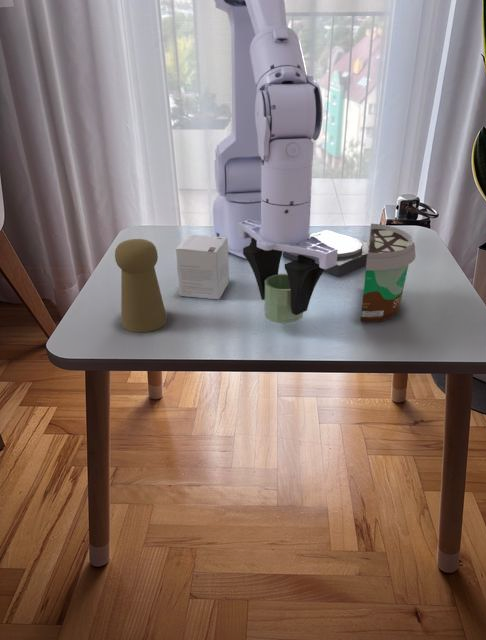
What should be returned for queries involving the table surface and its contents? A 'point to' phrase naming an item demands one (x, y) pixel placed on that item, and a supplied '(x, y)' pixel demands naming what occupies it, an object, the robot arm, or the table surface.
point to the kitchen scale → (341, 252)
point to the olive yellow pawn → (139, 286)
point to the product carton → (203, 266)
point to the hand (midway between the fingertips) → (283, 304)
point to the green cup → (279, 300)
